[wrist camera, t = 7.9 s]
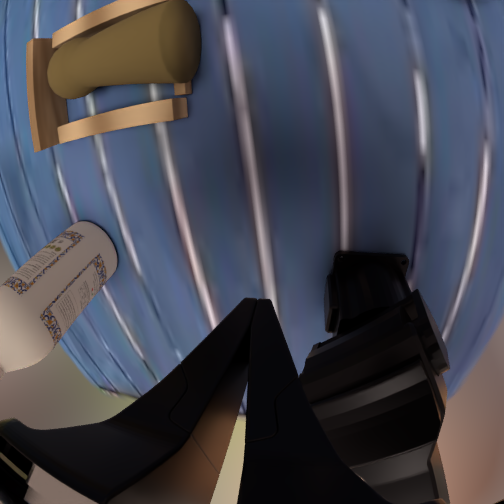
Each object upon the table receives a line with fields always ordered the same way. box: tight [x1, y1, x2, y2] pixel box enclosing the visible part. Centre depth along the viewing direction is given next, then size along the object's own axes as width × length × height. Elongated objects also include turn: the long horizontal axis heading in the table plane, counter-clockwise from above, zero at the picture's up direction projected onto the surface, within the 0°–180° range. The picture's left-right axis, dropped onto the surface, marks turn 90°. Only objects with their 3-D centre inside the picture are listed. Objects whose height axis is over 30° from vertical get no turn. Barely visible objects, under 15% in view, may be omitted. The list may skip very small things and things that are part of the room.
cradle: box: [26, 0, 192, 152], centre depth 15 cm, size 14×10×4 cm
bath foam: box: [0, 221, 117, 380], centre depth 18 cm, size 7×7×20 cm
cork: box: [47, 0, 201, 99], centre depth 14 cm, size 6×6×11 cm
